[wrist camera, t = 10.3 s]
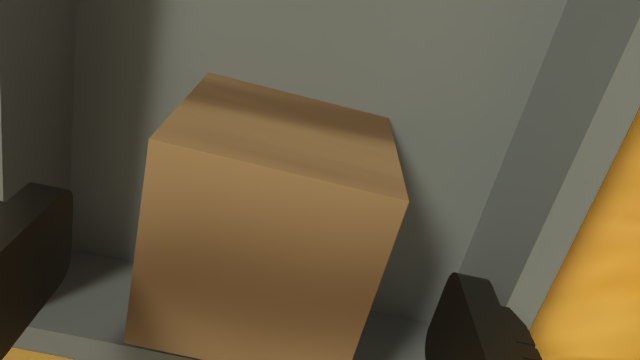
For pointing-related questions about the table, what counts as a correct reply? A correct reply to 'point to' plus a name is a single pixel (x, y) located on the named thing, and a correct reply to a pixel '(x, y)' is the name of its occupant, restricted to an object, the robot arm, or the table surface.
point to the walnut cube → (263, 226)
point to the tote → (341, 89)
